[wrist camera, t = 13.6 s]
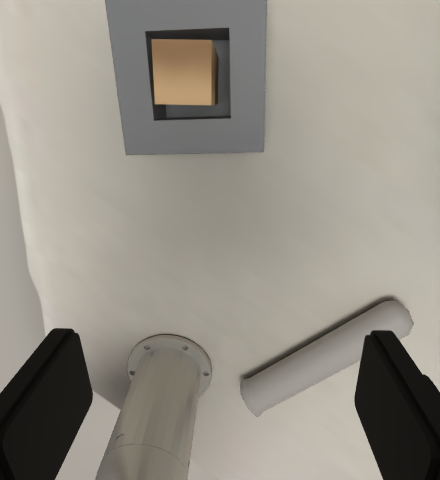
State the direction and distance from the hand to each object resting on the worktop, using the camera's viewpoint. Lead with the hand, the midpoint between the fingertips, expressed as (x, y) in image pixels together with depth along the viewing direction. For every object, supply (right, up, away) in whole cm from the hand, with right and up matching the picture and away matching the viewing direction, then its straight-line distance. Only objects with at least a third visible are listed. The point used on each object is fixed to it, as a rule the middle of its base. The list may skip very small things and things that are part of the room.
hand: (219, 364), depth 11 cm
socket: (-2, +21, +24) cm, 32 cm away
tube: (+14, -11, +37) cm, 41 cm away
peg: (-2, +20, +23) cm, 31 cm away
